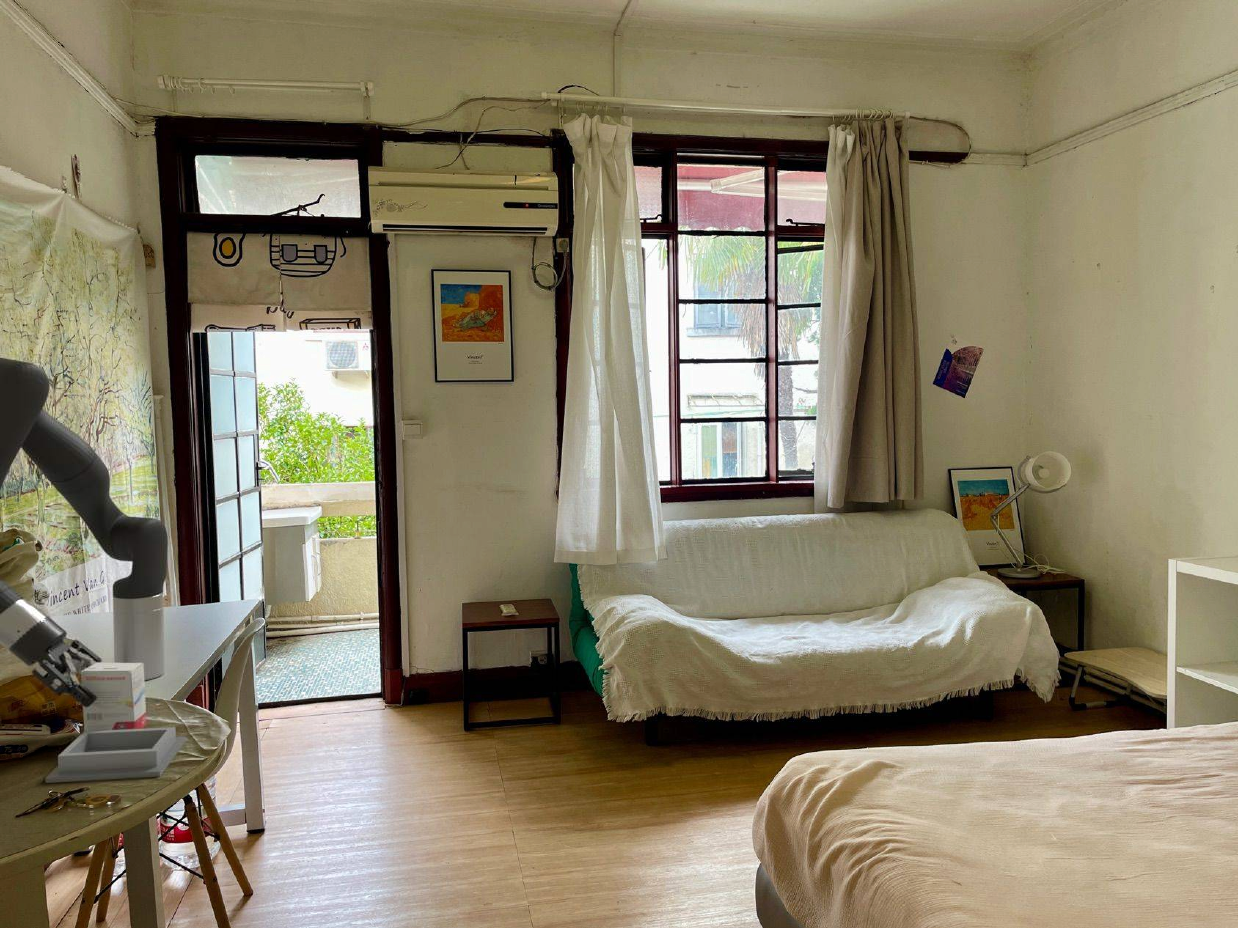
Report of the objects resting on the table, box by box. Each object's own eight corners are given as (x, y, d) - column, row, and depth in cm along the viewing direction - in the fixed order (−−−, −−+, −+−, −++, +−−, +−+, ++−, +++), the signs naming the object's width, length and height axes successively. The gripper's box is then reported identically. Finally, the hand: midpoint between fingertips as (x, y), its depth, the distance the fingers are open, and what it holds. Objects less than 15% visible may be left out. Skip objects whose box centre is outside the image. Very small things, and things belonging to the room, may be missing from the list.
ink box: (148, 726, 156) (146, 661, 155) (133, 737, 151) (132, 670, 150) (97, 726, 156) (96, 661, 155) (81, 737, 151) (79, 670, 150)
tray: (82, 746, 147) (82, 727, 147) (185, 741, 150) (185, 722, 150) (45, 782, 133) (45, 761, 133) (159, 776, 136) (159, 755, 136)
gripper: (24, 626, 143) (103, 692, 146) (61, 606, 157) (133, 666, 160) (-12, 659, 142) (68, 725, 145) (29, 636, 156) (101, 696, 159)
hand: (102, 694), depth 152 cm, fingers open, 8 cm apart
